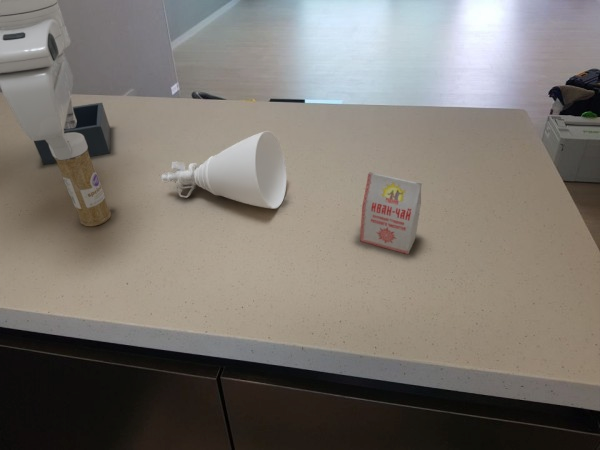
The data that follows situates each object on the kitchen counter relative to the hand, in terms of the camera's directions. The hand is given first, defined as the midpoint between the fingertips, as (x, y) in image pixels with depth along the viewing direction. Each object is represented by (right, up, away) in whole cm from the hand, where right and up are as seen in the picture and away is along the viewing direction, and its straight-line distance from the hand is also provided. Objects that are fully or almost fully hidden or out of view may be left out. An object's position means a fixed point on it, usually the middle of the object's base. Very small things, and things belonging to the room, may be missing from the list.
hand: (68, 140), depth 62 cm
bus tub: (-12, +4, +27) cm, 30 cm away
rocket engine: (+20, -6, +13) cm, 25 cm away
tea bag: (+44, -14, +2) cm, 46 cm away
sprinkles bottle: (0, -10, +8) cm, 13 cm away
